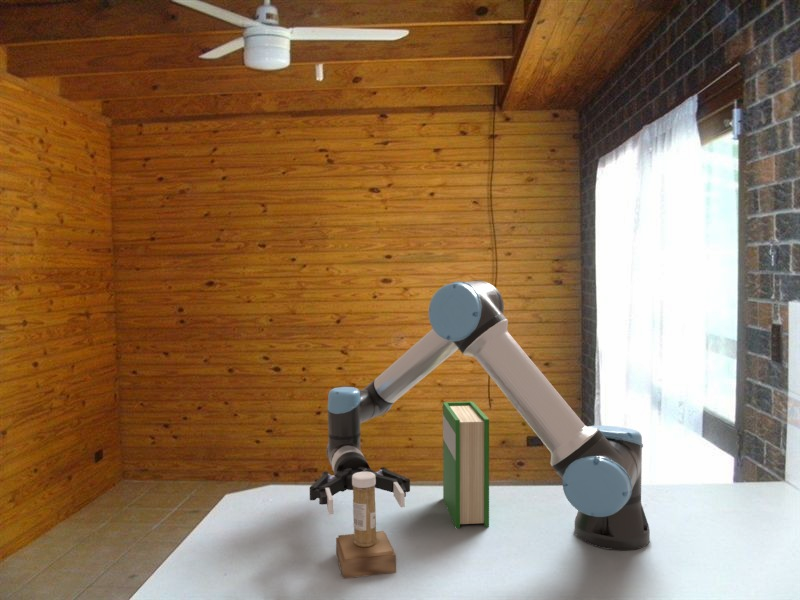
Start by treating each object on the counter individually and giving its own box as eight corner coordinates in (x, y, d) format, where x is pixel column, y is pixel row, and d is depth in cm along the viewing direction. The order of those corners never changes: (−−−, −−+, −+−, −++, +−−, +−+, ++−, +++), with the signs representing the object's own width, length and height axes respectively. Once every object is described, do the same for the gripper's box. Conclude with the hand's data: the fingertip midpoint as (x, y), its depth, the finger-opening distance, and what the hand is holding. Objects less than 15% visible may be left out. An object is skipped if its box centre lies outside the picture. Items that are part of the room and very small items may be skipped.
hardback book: (489, 527, 139) (489, 419, 138) (455, 528, 139) (455, 420, 137) (472, 497, 157) (472, 401, 155) (443, 498, 156) (442, 402, 155)
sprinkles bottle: (381, 543, 122) (380, 475, 121) (360, 550, 120) (359, 480, 119) (369, 535, 126) (367, 469, 125) (349, 541, 123) (347, 473, 123)
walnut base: (385, 548, 129) (385, 529, 129) (396, 572, 119) (395, 551, 119) (336, 554, 127) (336, 534, 126) (343, 578, 117) (342, 557, 117)
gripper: (405, 480, 143) (431, 516, 122) (293, 489, 137) (300, 529, 116) (405, 447, 142) (431, 478, 122) (293, 455, 137) (300, 489, 116)
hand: (367, 503), depth 119 cm, fingers open, 13 cm apart
